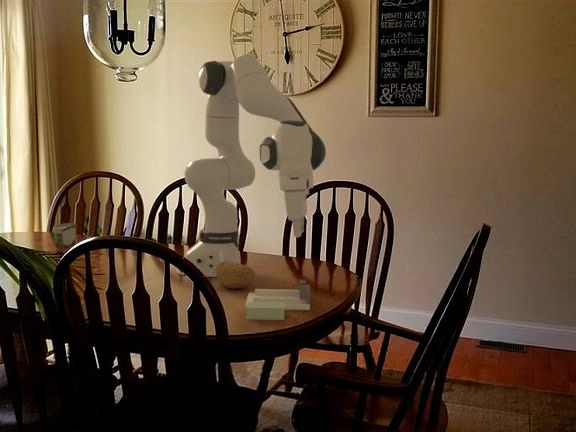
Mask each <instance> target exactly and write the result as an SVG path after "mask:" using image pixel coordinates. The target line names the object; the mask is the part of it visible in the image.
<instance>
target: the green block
mask: <svg viewBox="0 0 576 432" xmlns="http://www.w3.org/2000/svg"><path fill="white" fill-rule="evenodd" d="M284 309H285V302H248V303H247V308H246V309H245V310H246V320H269V321H271V320H272V321H273V320H274V321H275V320H279V321H280V320H281V321H282V320H283V321H284V320H285V310H284Z"/></svg>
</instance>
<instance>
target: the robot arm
mask: <svg viewBox="0 0 576 432" xmlns="http://www.w3.org/2000/svg"><path fill="white" fill-rule="evenodd" d="M198 75H199V76H198V82H199V87H200V89H201V91H202V92H203V93H204V94H206V95H207V100H206V105H205V130H204V131H205V135H204V136H205V139H206V142H207V143H208V144H210V145H211V146H212V147H215V148H216V150H217V153H218V157H215V158H214V157H212V158H200V159H197V160H193V161H191V162H189V163H188V164H187V166H186V168H185V171H184V181H185V183H186V185H187V187H188V188H189V189H190V190H192V191H193V192H194V193H195V194H196V195H197V196H198V198H199V199H200V202H201V204H202V207H203V212H204V227H205V228H202V229H200V231H199V233H198V240H199V241H198V242H196V243H195V244H194V245H193V246H191V247H190V248H189V249H188V250H187V251H186V252H185V253H184V256H183V258H184V257H185V258H186V259H188V260H189V261H191V262H192V263H193V264H194V265H195V266H196V267H197V268H199V269H200V270H201V271H202V272H203V273H204V275H205V276H204V277H212V278H217V276H216V272H215V267H216V265H217V264H218V263H220V262H222V261H229V262H234V263H239V264H241V260H240V254H239V245H240V237H239V236H240V233H239V229H238V209H237V207H236V206H235V204H233V203H232V202H230V201H229V200H227V199H226V197H225V194H224V191H229V190H231V191H232V190H240V189H244V188H246V187H250V186H251V185H252V184H253V183H254V181H255V178H256V169H255V168H256V167H255V165H254V163H253V162H252V161H251V160H250V159H249V158H248V157H247V156H246V154H245V153H244V152H243V149H242V146H241V142H240V106H241V107H242V109H243V110H245V112H247V113H249V114H251V115H253V116H257V117H263V118H266V119H267V118H268V119H271V120H275V121H277V122H279V123H278V125H277V129H276V131H275V132H274V133H273V134H271V135H270V136H267V137H265V138H264V139H263V141H262V142H261V143H260V145H259V159H260V162H261V164H262V166H264V167H265V169H267V170H268V171H278V176H279V177H278V178H279V189H280V190H281V191H282V192H283V193H284V202H285V211H286V215H287V219H288V220H289V222H291V221H292V222H291V224H292V229H293V236H294V237H295V238H300V237H301V236H302V234H303V233H304V231H305V228H304V227H305V225H304V224H305V217H306V215H307V214H308V201H307V199H308V198H307V196H308V195H310V189H314V175H313V174H314V171H315V170H317V169H318V168H319V167H320V166H321V165H322V164H323V162H324V160H325V159H326V156H327V155H326V154H327V150H326V146H325V142H323V140H322V138H321V137H320V136H319V135H318V134H317V133H316V132H315V131H314V130H313V129H312V128H311V126H310V125H309V123H308V121H307V120H306V119H305V118H304V116H303V115H302V113H301V111H300V110H299V108H297V106H296V104H295V103H294V101H293V100H292V99H290V97H289V96H287V95H285V94H284V93H282V92H281V91H280V90H279V89H278V88H277V87H276V86H275V85H274V83H273V82H272V81H271V79H270V77H269V75H268V72H267V70H266V69H265V67H264V66H263V65H262V64H261V62H260V61H259V60H258V59H257V58H256V57H255V56H253V55H250V54H245V55H244V54H243V55H240V56H238V57H237V58H235V59H234V60H233V61H227V60H225V61H221V60H220V61H216V60H212V61H206V62H205V63H203V64H202V65H201V67H200V69H199V74H198ZM175 272H176V274H178V275H183V276H185V275H184V274H183V273H181V272H180V271H179V270H178V269H177V268H176V271H175Z"/></svg>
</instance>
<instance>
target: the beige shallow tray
mask: <svg viewBox="0 0 576 432" xmlns="http://www.w3.org/2000/svg"><path fill="white" fill-rule="evenodd" d="M310 287H311V285H310V284H307V279H299V289H284V288H283V289H278V288H276V289H275V288H271V289H270V288H269V289H268V288H255V289H254V292H248V294H247V297H246V302H245V310H246V308H247V303H248V302H285V309H284V311H285V310H287V311H289V310H291V311H292V310H295V311H298V310H300V311H301V310H302V311H310V310H311V290H310V289H311V288H310Z"/></svg>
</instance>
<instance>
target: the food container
mask: <svg viewBox="0 0 576 432" xmlns="http://www.w3.org/2000/svg"><path fill="white" fill-rule="evenodd" d="M52 233H53V234H54V241H55V249H56V248H58V249H67V248H69V247H70V246H73V245H75V244H76V243H77V239H76V237H77V224H76V222H70V223H69V222H67V223H59V224H55V225H53V227H52ZM76 245H77V244H76Z"/></svg>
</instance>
